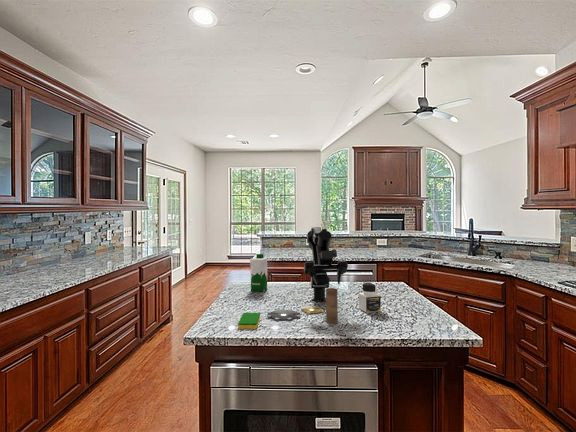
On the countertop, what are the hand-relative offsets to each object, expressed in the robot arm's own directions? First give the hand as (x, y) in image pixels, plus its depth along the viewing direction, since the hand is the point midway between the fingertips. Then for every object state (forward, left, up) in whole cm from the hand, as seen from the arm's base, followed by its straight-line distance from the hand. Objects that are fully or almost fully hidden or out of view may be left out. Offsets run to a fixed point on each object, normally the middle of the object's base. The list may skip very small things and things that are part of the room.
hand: (328, 284), depth 141 cm
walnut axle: (+7, +4, -13) cm, 16 cm away
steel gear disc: (+7, -17, -13) cm, 23 cm away
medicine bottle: (-15, +15, -14) cm, 25 cm away
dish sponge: (+20, -26, -14) cm, 36 cm away
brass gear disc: (-4, -8, -13) cm, 16 cm away
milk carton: (-30, -49, -14) cm, 59 cm away
